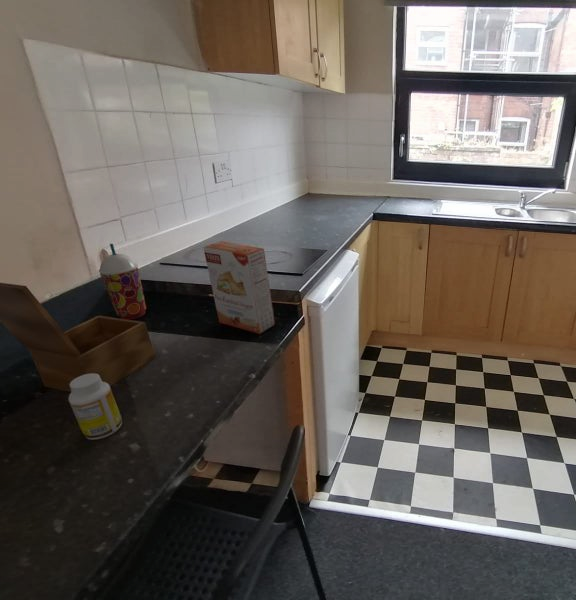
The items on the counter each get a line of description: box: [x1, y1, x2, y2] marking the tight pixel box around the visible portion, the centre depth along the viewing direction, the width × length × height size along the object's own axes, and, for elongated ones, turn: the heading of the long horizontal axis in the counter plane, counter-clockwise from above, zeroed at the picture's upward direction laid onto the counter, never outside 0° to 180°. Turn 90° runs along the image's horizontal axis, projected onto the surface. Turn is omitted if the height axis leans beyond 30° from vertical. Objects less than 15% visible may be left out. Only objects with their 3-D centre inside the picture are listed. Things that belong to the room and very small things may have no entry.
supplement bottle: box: [67, 373, 123, 441], centre depth 66 cm, size 6×6×10 cm
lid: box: [0, 282, 81, 357], centre depth 69 cm, size 16×13×1 cm
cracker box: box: [202, 240, 276, 335], centre depth 99 cm, size 14×6×21 cm, turn 65°
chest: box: [27, 315, 156, 393], centre depth 83 cm, size 15×13×9 cm
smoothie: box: [98, 243, 147, 320], centre depth 104 cm, size 8×8×20 cm
